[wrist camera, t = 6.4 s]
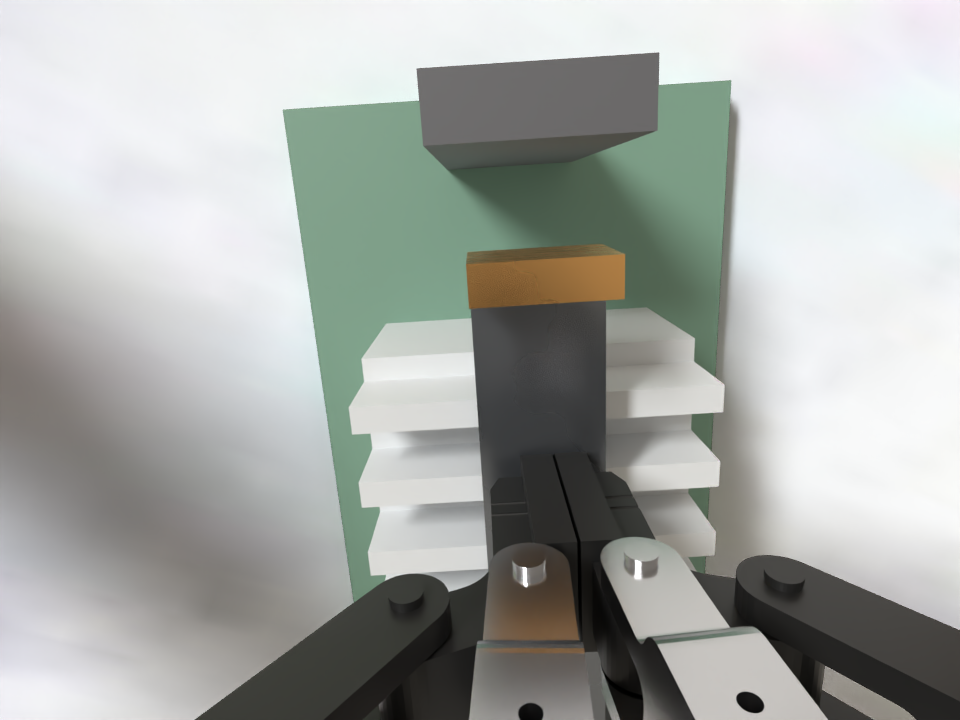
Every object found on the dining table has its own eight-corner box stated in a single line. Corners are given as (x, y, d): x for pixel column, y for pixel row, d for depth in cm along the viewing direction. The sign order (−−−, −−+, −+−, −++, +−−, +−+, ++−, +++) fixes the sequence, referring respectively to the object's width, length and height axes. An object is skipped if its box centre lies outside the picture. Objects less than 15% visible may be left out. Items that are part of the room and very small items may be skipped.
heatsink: (376, 714, 26) (317, 1023, 16) (292, 114, 19) (102, 27, 9) (688, 696, 26) (817, 997, 16) (718, 86, 19) (974, -31, 9)
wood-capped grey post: (604, 853, 18) (624, 956, 15) (502, 858, 18) (506, 962, 15) (605, 240, 12) (636, 253, 10) (458, 250, 12) (454, 264, 10)
